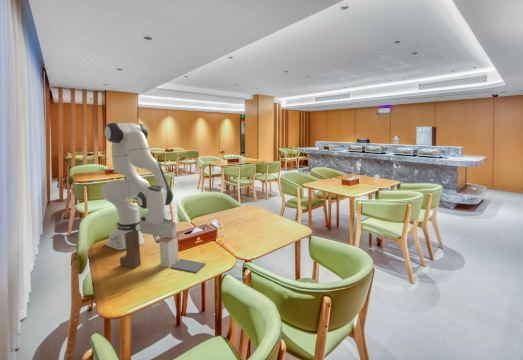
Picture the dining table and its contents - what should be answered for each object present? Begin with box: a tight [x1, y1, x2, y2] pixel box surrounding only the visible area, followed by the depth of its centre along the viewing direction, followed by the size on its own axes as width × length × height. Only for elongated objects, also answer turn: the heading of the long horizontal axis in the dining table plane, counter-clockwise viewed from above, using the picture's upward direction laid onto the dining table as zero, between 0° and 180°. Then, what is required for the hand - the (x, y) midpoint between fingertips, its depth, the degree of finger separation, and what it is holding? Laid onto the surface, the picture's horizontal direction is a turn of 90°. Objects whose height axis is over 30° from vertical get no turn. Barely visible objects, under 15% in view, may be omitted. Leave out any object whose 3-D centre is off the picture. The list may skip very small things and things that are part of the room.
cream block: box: [159, 234, 180, 268], centre depth 142 cm, size 5×8×14 cm, turn 162°
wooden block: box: [119, 231, 142, 269], centre depth 139 cm, size 9×4×18 cm, turn 74°
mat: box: [169, 258, 206, 274], centre depth 140 cm, size 15×9×1 cm, turn 72°
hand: (158, 242), depth 143 cm, fingers closed
